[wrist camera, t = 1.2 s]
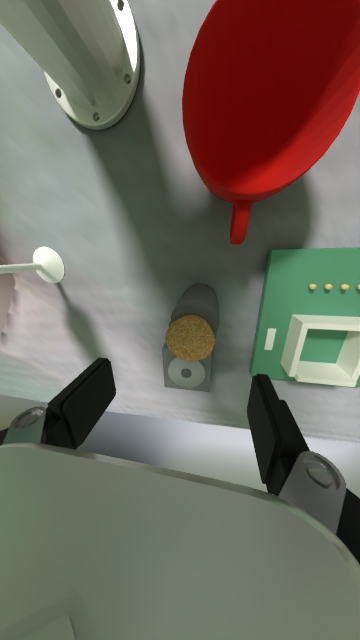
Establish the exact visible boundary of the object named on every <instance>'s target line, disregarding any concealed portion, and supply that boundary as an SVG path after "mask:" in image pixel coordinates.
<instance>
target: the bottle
mask: <svg viewBox="0 0 360 640" xmlns="http://www.w3.org/2000/svg"><path fill="white" fill-rule="evenodd" d="M218 327H219V314H218V303H217V297H216V294H215V292H214V291H213V289H212V288H211V287H209V286H207V285H204V284H196V285H193V286H191V287H190V288H189V289H188V290H187V291H186V292H185V294H184V295H183V296H182V298H181V299H180V301H179V302H178V304H177V305H176V307H175V309H174V310H173V312H172V315H171V321H170V323H169V328H168V330H167V333H166V343H167V346H168V348H169V350H170V351H171V352H172V353H173V354H174V355H175V356H176V357H178V358H180V359H182V360H185V361H199V360H202V359H204V358H206V357H207V356H208V355H209V354H210V353H211V352H212V350H213V348H214V345H215V338H216V333H217V330H218Z"/></svg>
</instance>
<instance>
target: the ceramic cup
mask: <svg viewBox="0 0 360 640" xmlns="http://www.w3.org/2000/svg"><path fill="white" fill-rule="evenodd" d="M359 91H360V0H217V1H216V2H215V3H214V5H213V6H212V8H211V10H210V12H209V13H208V15H207V17H206V19H205V21H204V22H203V24H202V26H201V28H200V30H199V33H198V35H197V38H196V41H195V43H194V46H193V48H192V51H191V54H190V58H189V62H188V66H187V70H186V74H185V80H184V89H183V97H182V110H183V125H184V131H185V137H186V142H187V146H188V149H189V152H190V154H191V157H192V160H193V163H194V166H195V168H196V170H197V172H198V174H199V176H200V177H201V179H202V181H203V183H204V184H205V185H206V186H207V187H208V188H209V190H210V191H211V192H212V193H214V194H215V195H217V196H218V197H219V198H221V199H223V200H226V201H228V202H232V203H234V204H233V212H232V220H231V228H230V243H232V244H235V245H238V244H241V243H243V241H244V238H245V235H246V232H247V227H248V221H249V215H250V208H251V204H252V202H256V201H259V200H262V199H265V198H267V197H269V196H271V195H273V194H275V193H277V192H279V191H281V190H282V189H284V188H285V187H287V186H288V185H290V184H291V183H292V182H294V181H295V180H296V179H298V178H299V177H300V176H302V175H303V174H304V173H306V172H307V171H308V170H309V169H310V168H311V167H312V166H313V165H314V164H315V163H316V162H317V161H318V160H319V159H320V158H321V157H322V156H323V155H324V154H325V152H326V151H327V150H328V148H329V147H330V145H331V144H332V143H333V141H334V140H335V139H336V137H337V136H338V135H339V133H340V131H341V129H342V128H343V126H344V124H345V122H346V120H347V119H348V117H349V115H350V113H351V111H352V109H353V106H354V104H355V101H356V99H357V96H358V94H359Z"/></svg>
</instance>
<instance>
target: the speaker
mask: <svg viewBox="0 0 360 640" xmlns="http://www.w3.org/2000/svg"><path fill="white" fill-rule="evenodd" d="M162 351H163V367H164V382H165V387H170V388H178V389H187V390H195V391H204V392H210V378H211V361H212V352H211V353H210V354H209V355H208V356H207V357H206V358H204V359H202V360H199V361H185V360H182V359H180V358H178V357H176V356H175V355H174V354H173V353H172V352H171V351H170V350H169V348H168V346H167V343H166V342H165V344H164V346H163V348H162Z"/></svg>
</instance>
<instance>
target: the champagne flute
mask: <svg viewBox="0 0 360 640" xmlns="http://www.w3.org/2000/svg"><path fill="white" fill-rule="evenodd" d="M34 270H36V271H37V273H38V274H39V275H40V277H41V278H43V279H44V280H45V281H47V282H49V283H58V282H60V281H61V280H62V279H63V277H64V265H63V262H62V260H61V258H60V257H59V255H58V254H57V253H56V252H55V251H54V250H52V249H50V248H48V247H40V248H38V249H37V250H36V251H35V252H34V255H33V263H32V264H15V265H0V274H3V273H14V272H24V271H34Z"/></svg>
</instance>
